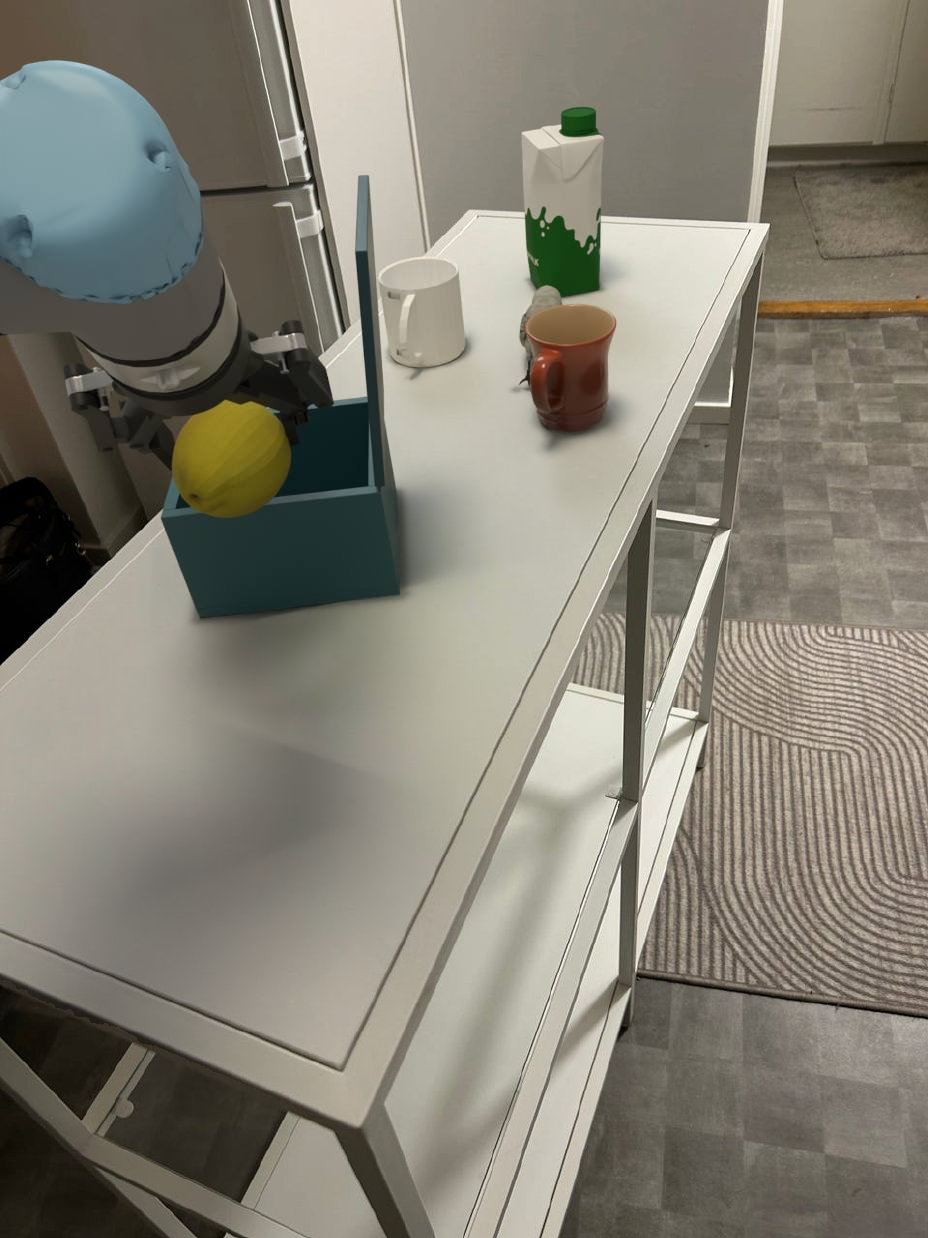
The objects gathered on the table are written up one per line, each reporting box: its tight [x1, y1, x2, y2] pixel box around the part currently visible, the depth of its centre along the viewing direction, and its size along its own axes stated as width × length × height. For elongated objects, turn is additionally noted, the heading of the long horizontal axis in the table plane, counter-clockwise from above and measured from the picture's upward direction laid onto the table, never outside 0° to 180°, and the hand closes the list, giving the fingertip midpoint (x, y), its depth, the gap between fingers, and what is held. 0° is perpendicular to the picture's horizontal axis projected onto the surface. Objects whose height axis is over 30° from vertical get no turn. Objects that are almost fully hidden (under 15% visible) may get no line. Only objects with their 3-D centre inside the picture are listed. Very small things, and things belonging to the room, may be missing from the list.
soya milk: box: [520, 106, 605, 298], centre depth 113 cm, size 9×9×20 cm
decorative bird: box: [518, 285, 563, 388], centre depth 103 cm, size 5×16×7 cm, turn 173°
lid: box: [354, 174, 385, 487], centre depth 70 cm, size 18×15×1 cm
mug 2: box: [525, 303, 617, 433], centre depth 91 cm, size 12×9×10 cm
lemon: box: [171, 400, 291, 518], centre depth 66 cm, size 11×8×8 cm
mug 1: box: [377, 255, 466, 368], centre depth 106 cm, size 12×9×9 cm
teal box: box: [160, 396, 401, 619], centre depth 80 cm, size 17×15×10 cm
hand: (231, 439), depth 69 cm, fingers closed on lemon, 8 cm apart
